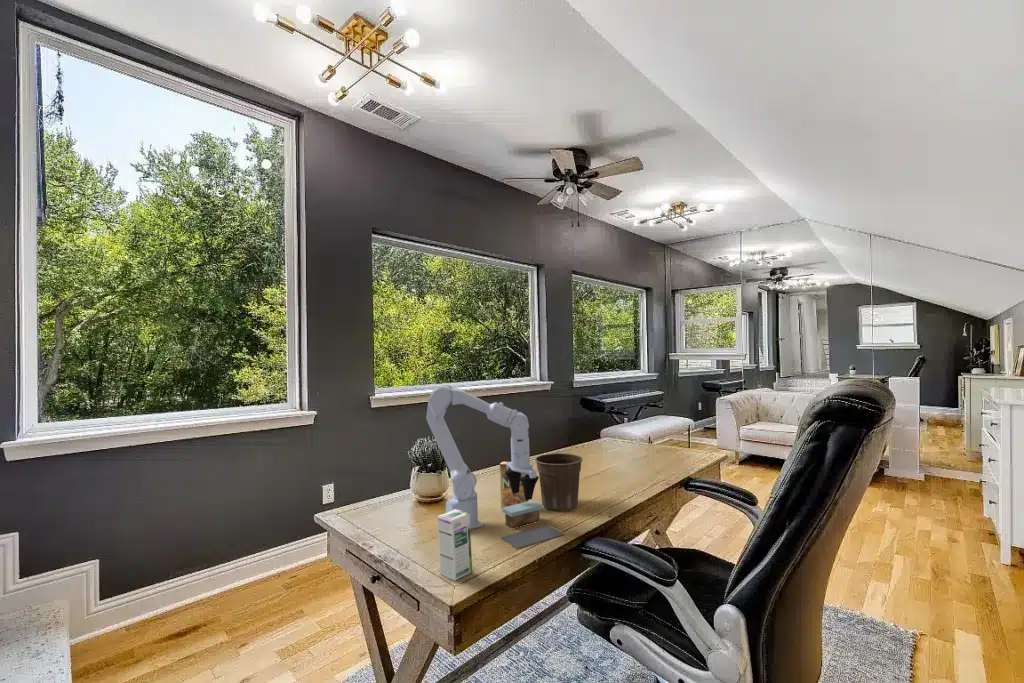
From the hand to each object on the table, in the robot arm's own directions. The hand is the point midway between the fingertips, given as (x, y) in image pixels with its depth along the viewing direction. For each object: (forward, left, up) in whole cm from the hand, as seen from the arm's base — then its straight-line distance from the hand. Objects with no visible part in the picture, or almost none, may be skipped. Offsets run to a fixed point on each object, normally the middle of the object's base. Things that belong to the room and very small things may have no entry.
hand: (522, 496), depth 142 cm
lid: (0, 0, -4) cm, 4 cm away
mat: (-3, -10, -8) cm, 13 cm away
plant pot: (+19, +6, -9) cm, 22 cm away
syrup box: (-30, -17, -9) cm, 36 cm away
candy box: (+5, +13, -9) cm, 16 cm away
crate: (0, 0, -8) cm, 8 cm away
